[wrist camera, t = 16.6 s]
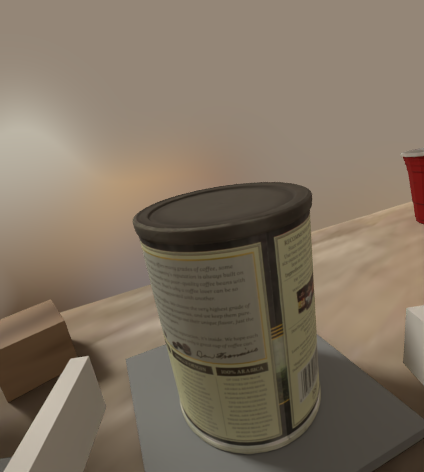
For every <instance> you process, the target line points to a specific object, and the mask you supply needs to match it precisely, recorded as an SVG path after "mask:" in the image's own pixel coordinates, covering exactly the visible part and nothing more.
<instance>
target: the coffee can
mask: <svg viewBox="0 0 424 472" xmlns="http://www.w3.org/2000/svg"><path fill="white" fill-rule="evenodd" d="M311 206H312V193H311V191H310V190H309V189H307V188H306V187H303V186H300V185H296V184H291V183H281V182H260V183H246V184H234V185H227V186H219V187H214V188H209V189H204V190H198V191H194V192H190V193H186V194H182V195H178V196H175V197H171V198H168V199H165V200H163V201H160V202H157V203H155V204H153V205H151V206H149V207H146V208H145V209H143V210H142V211H140V212H139V213H137V214H136V215H135V217H134V219H133V225H134V228H135V231H136V233H137V234H138V236H139V238H140V242H141V246H142V250H143V254H144V258H145V262H146V266H147V270H148V274H149V278H150V282H151V286H152V290H153V294H154V298H155V302H156V306H157V310H158V314H159V318H160V322H161V326H162V330H163V334H164V338H165V342H166V346H167V350H168V353H169V358H170V362H171V366H172V369H173V373H174V377H175V381H176V385H177V389H178V393H179V398H180V405H181V410H182V413H183V416H184V418H185V420H186V422H187V424H188V425H189V427H190V428H191V430H192V431H193V432H194V433H195V434H196V435H198V436H199V437H200V438H201V439H202V440H204V441H205V442H206V443H208V444H210V445H212V446H214V447H216V448H219V449H221V450H225V451H229V452H233V453H243V454H254V453H261V452H268V451H271V450H276V449H279V448H281V447H283V446H285V445H287V444H289V443H291V442H293V441H294V440H296V439H297V438H298V437H300V436H301V435H302V434H303V433H304V432H305V431H306V430H307V429H308V427H309V426H310V425H311V423H312V422H313V420H314V418H315V416H316V414H317V412H318V409H319V405H320V400H321V386H320V381H319V369H318V351H317V334H316V316H315V297H314V281H313V262H312V244H311V225H310V208H311Z"/></svg>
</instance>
